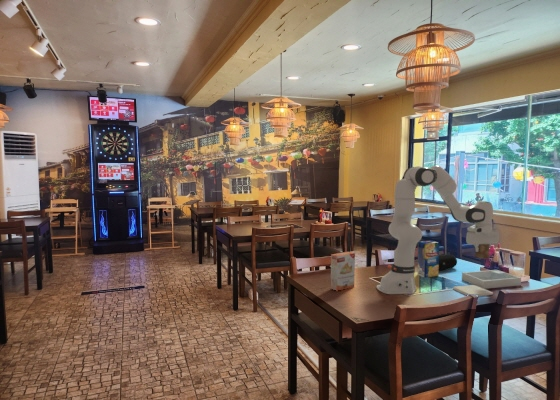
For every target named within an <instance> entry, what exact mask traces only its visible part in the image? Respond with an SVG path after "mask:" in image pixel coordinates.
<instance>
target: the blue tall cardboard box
mask: <svg viewBox="0 0 560 400" xmlns="http://www.w3.org/2000/svg"><path fill="white" fill-rule="evenodd" d="M439 255H440V242H439V241H435V240H423V241H421V240H420V241H419V242H418V243H417V276H420V277H422V278H432V277H438V276H439V271H440V270H439Z"/></svg>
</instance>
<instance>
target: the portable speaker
mask: <svg viewBox="0 0 560 400" xmlns="http://www.w3.org/2000/svg"><path fill="white" fill-rule="evenodd" d="M457 263H458V259H457V258H456V256H455V255H454V254H450V253H446V254H439V271H443V270H449V269H453V268H455V267H457Z"/></svg>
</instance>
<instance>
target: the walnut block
mask: <svg viewBox="0 0 560 400" xmlns="http://www.w3.org/2000/svg"><path fill="white" fill-rule="evenodd" d="M489 247H490V245H488V244H479V246H478V248H479V249H480V252H476V250H475V253H474V254H475V255H474V256H475V257H476V258H479V259H483V260H484V259H489V258H490V248H491V247H490V248H489Z"/></svg>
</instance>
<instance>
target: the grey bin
mask: <svg viewBox="0 0 560 400" xmlns="http://www.w3.org/2000/svg"><path fill="white" fill-rule="evenodd" d="M491 271H500V272H503V273H505V279H496V280H491ZM461 280H462V281H464V282H466V283H469V284H470V285H476V286H478V287H481V288H483V289H486V290H488V289H495V288H506V287H508V288H509V287H517V286H518V287H519V286H522V285H521V284H522V277H520V276H517V275H514V274H511V273H508V272H505V271H501V270H498V269H491V270H490V269H488V270H477V271H468V272H467V271H466V272H462V273H461Z"/></svg>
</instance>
